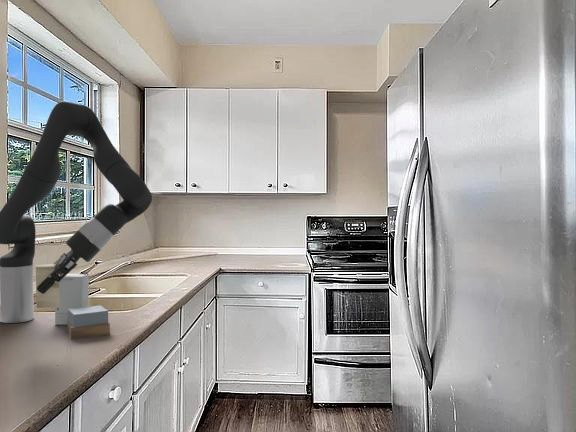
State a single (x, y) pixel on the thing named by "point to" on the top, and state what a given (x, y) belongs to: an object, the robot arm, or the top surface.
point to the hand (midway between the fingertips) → (39, 289)
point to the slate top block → (87, 316)
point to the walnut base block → (88, 330)
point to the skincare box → (71, 295)
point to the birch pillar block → (52, 293)
